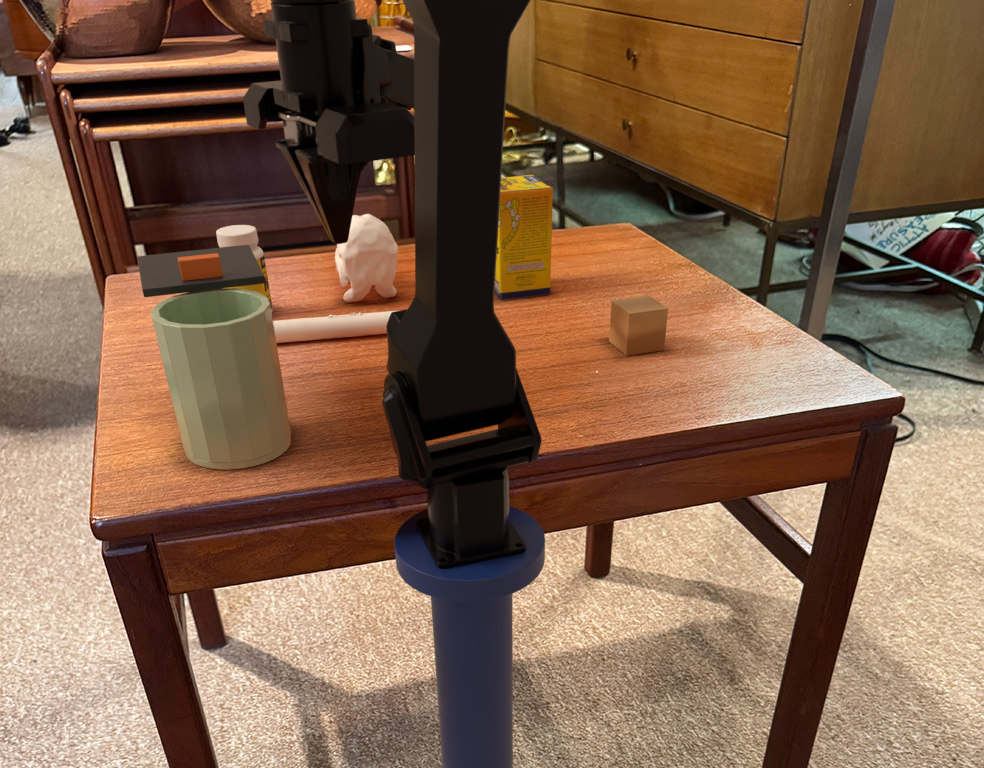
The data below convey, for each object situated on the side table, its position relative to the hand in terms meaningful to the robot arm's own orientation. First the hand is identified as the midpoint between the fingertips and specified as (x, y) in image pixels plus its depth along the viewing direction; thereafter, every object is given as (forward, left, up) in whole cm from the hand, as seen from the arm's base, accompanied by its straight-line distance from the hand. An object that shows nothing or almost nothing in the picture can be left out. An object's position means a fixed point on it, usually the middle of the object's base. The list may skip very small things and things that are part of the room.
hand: (339, 242), depth 74 cm
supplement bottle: (+26, +6, -13) cm, 29 cm away
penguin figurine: (+29, -7, -13) cm, 32 cm away
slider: (+2, +11, -2) cm, 11 cm away
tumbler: (-5, +11, -13) cm, 18 cm away
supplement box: (+23, -23, -13) cm, 35 cm away
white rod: (+15, -3, -13) cm, 20 cm away
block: (+3, -28, -13) cm, 31 cm away
